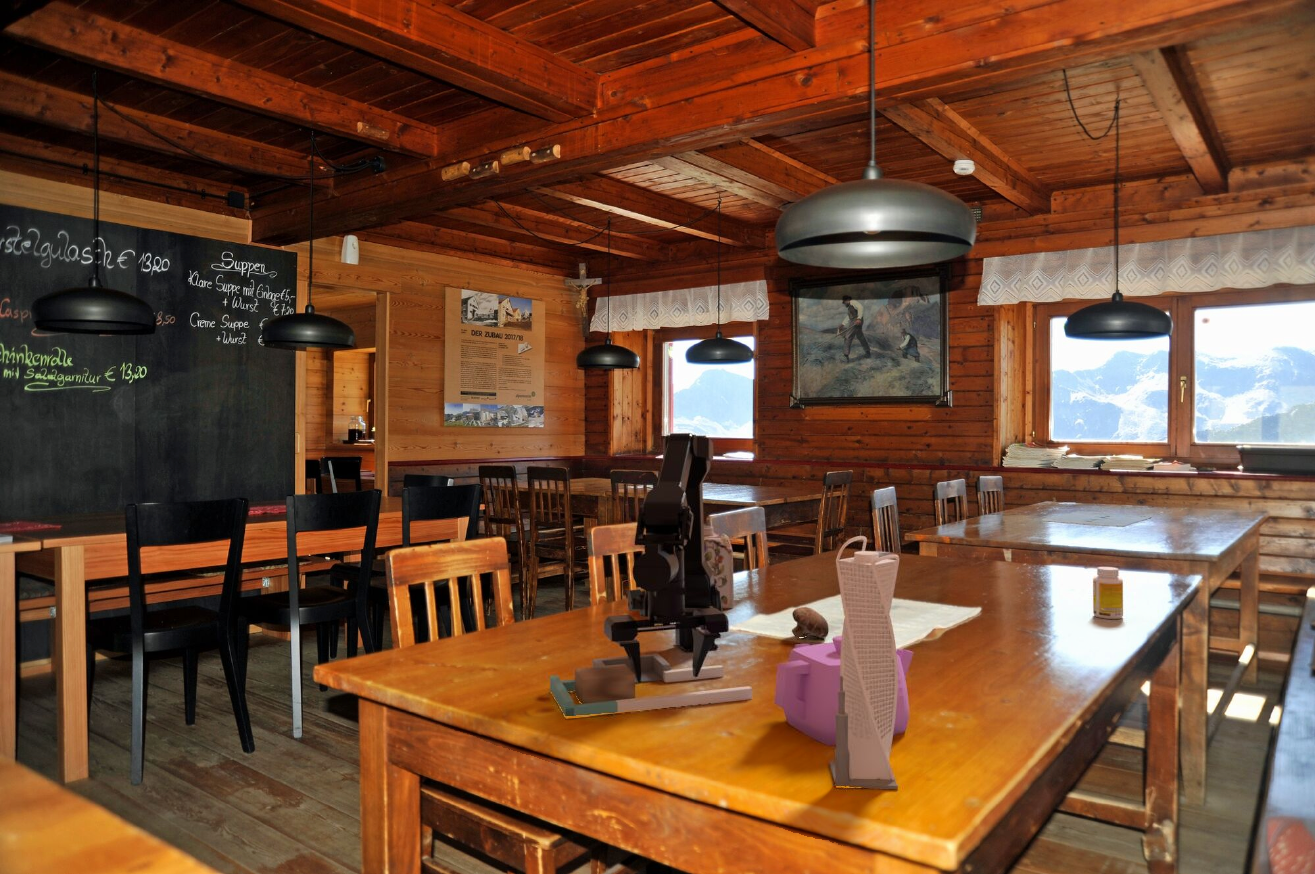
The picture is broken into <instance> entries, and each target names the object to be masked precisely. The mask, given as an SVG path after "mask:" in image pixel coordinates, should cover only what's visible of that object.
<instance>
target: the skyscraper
mask: <svg viewBox="0 0 1315 874" xmlns="http://www.w3.org/2000/svg"><path fill="white" fill-rule="evenodd" d="M857 541H862V542H863V543H862V549H861V550H860V551H854V556H853V557H846V558H842V559H841V556H842V554H843V551H844V549H845V548H846V547H848V545H849V544H851V543H854V542H857ZM867 542H868V539H867V537H866V536H864V535H859V536H858V535H857V536H854V537H852V538H849V539H848V540H847V541H845V542H844V543H843V544H842V546H841V547H840V548H839V551H838V553H837V556H836V559H835V566H836V572H837V579H838V585H839V591H840V597H841V603H842V610H843V615H844V619H843V624H842V630H841V631H842V633H841V636H842V641H841V656H840V690H839V691H838V705H839V712H835V717H836V746H835V749H834V760H829V763H828V764H829V768H830V772H831V776H832V779H834V780H833V783H834V782H835V784H834V787H835V786H845V787H846V786H849V787H861V788H882V789H881V790H889V789H898V790H899V788H898V787H899V785H898V783H897V781H896V778H895V775H894V772H893V770H892V766H891V764H890V757H891V756H890V755H891V750H892V743H893V737H894V735H893V732H894V724H895V717H896V706H897V692H898V666H897V645H896V639H895V638H896V637H895V633H894V628H893V624H892V623H893V622H892V619H891V615H890V613H891V608H892V603H893V598H894V593H895V587H896V582H897V577H898V571H899V565H900V557H899V555H898V554H896V553H895V554H886V555H883V556H880V553H879V552H877V551H870V550H868V551H867V550H866V546H867Z"/></svg>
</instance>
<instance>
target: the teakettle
mask: <svg viewBox="0 0 1315 874" xmlns="http://www.w3.org/2000/svg"><path fill="white" fill-rule="evenodd" d="M831 640H832V641H831V642H825V643H819V644H818V643H817V644H811V645H810V643H800V644H795V645H794V648H793V649H791V650H790V653H789V657H788V661H787V662H781V663H777V666H776V668H777V669H776V679H775V680H776V682H775V692H774V694H775V695H774V704H775V705H777V706H778V707H780V708H782V709H783V713H784V717H785V720H786V722H787V723H788V725H790V727H791V726H792V727H793V728H795V729H796V730H798V731H799V732H801V733H803V734H804V735H806V736H808V737H809V738H811V739H813V740H815V741H817V742H818V743H819V742H820V743H821V744H823V745H826V746H829V747H830V746H833V747H836V717H835V712H839V705H838V691H839V690H840V656H841V641H842V635H837V636H834V637H832V638H831ZM896 652H897V666H898V692H897V706H896V717H895V724H894V732H893V736H896V735H900V734H902V733H905V732H906V730H907V726H908V723H909V720H910V703H909V696H908V689H907V688H908V687H907V681H906V676H907V674H908V670H909V668H910V665H911V661H912V659H913V656H914V652H913V651H911V650H908V649H900V648H899V649H898V648H896Z"/></svg>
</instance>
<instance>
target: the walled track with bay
mask: <svg viewBox="0 0 1315 874" xmlns="http://www.w3.org/2000/svg"><path fill="white" fill-rule="evenodd" d="M640 658H641V682H642V683H650V682H658V681H659V682H661V680H662V681H663V680H664V682H665V683H666V684H667V683H675V682H684V681H685V682H686V681H693V680H694V681H695V680H704V679H713V678H724V673H725V672H724V666H723V665H722V664H719V665H710V666H709V665H708V666H702V667H701V670H700V672H699V674H698V677H694V676H693V667H687V668H679V669H678V668H677V669H676V668H675V669H671V664H670V663H669V662H668V660H666V659H665V658H664V657H663V656H661V655H660V654H659V653H650V654H649V653H648V654H647V653H646V654H640ZM621 664H625V665H626V666H627V667H628V668H629V669H630V670H631V671H632V672H633V669H632V666H631V663H630V661H629V658H628V655H627V656H626V655H625V656H617V657H606V658H605V657H604V658H595V659H592V667H601V666H611V665H621ZM633 673H634V672H633ZM635 684H639V683H638V682H637V681H636V678H635ZM574 690H575V679H564V680H561V679H560V677H559V675H550V676H549V691H551V692H552V694H553V695H554V697H555V699H556V701H557V702H558V704H559V706H560V707H561V709H562V711H563V713H564V714H565V716H576V715H590V714H601V713H615V712H624V711H638V710H648V709H658V710H661V709H660V708H667V707H676V708H682V707H681V706H685V707H688V706H687V705H693V706H699V705H698V704H701V705H709V704H708V703H711V704H719V703H727V702H735V701H736V702H738V701H745V700H753V687H751V686H746V685H745V686H739V687H729V688H722V689H721V688H719V689H710V690H702V691H700V690H699V691H692V692H691V691H690V692H682V693H674V694H664V695H663V694H662V695H655V696H645V697H643V696H642V697H635V698H634V699H625V700H615V701H606V702H597V703H587V704H580V703H579V704H575V701H574V700H573V698H572V696H571V694H570V692H569V693H568V691H574ZM552 694H551V695H552ZM556 701H555V702H556ZM701 705H700V706H701ZM667 709H668V708H667Z"/></svg>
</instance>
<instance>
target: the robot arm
mask: <svg viewBox="0 0 1315 874" xmlns="http://www.w3.org/2000/svg"><path fill="white" fill-rule="evenodd" d="M662 442H663V443H662V444H663V445H662V459H663V460H662V465H661V470H660V473H659V477H658V479H657V480H658V481H657V484H656V486H655V487H653V488H652V489H650V490H649V491H647V493H646V494H645V498H644V499H643V504H642V505H640V506H639V509H638V516H637V523H636V528H635V529H636V530H635V536H634V545H635V546H644V551H643V553H642V554H641V555H640V556H638V558H636V559H635V561H634V564H633V565H632V571H631V572H632V578H633V580H634V582H635V584H636V585H637V586H638V587H639V588H640V589H630V590H628V591H627V608H628V611H629V612H637V611H638V612H639V617H640V618H647V619H634V617H632V616H631V615H630V614H621V615H618V614H617V615H609V616H607V617H606V618H605V619H604V621H603V634H604V635H605V636H606V637H607V638H608V639H609V640H610V642H614V643H617V645H618V646H619V647H622V648H623V649H624V651H625V653H626V655H627V656H628V658H629V661H630V663H631V666H632V669H633V672H634V674H635V678H636V681H637V682H638V683H637V684H641V658H640V655H641V646H640V645H641V643H640V641H638V640H637V637H638V633H647V632H660V631H662V632H663V631H670V630H671V631H672V630H675V632H674V634H675V641H674V642H675V644H676V645H677V646H678V647H679V648H680V649H681V650H683V651H684V652H692V651H693V652H692V667H691V668H693V676H694V677H698V674H699V672H700V670H701V667H703V666H704V662H705V659H706V658H707V655H708V653H709V652H710V650H714V649H715V650H717V649H719V645H718V644H717V643H716V640H717V639H720V638H722V637H721V636H722V635H721V633H728V632H729V629H730V628H729V627H730V625H729V624H730V622H729V618H728V616H727V615H726V613H724V612H723V609H722V602H721V594H720V591H719V590H718V587H717V584H714V573H713V571H712V569H711V568H710V566H709V565H708V563H707V562H706V560H705V553H704V526H705V524H704V493H703V491H704V490H703V489H704V488H703V482H704V480H705V478H706V476H707V474H708V473H709V471H710V470H711V462H712V461H713V460H714V454H715V453H714V442H713V440H711V439H710V438H707V435H703V434H702V435H697V434H693V433H691V432H688V433H687V432H682V433H680V432H677V433H675V432H674V433H672V432H671V433H670V434H666V436H665V437H664V438H663V441H662ZM642 590H644V591H645V593H642ZM711 606H713V608H710V607H711Z"/></svg>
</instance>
